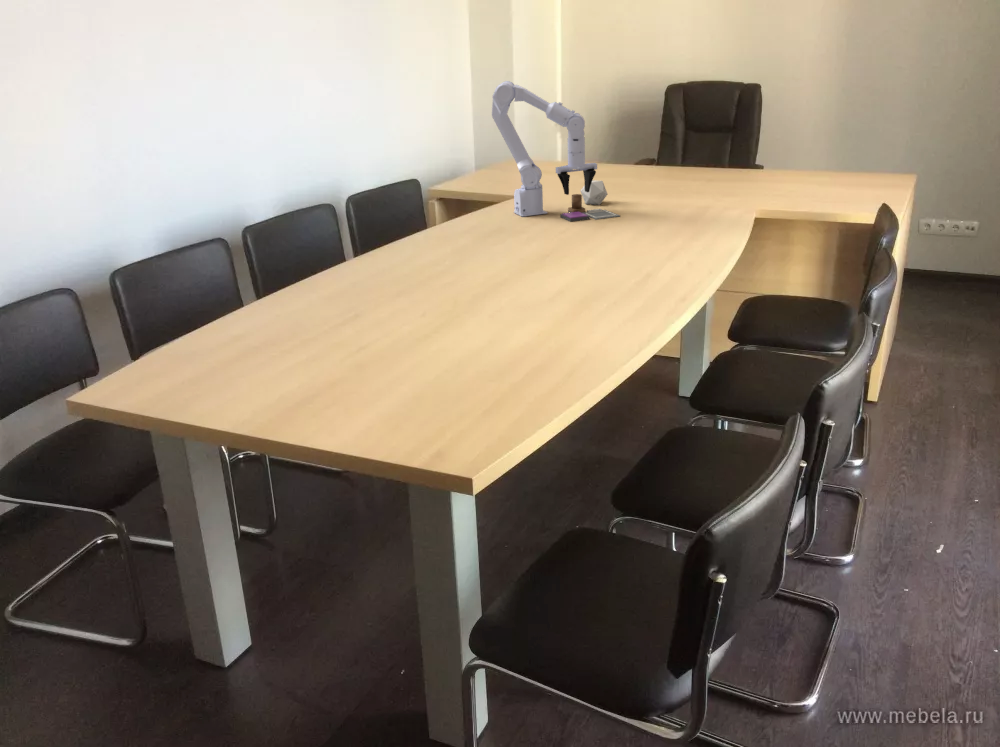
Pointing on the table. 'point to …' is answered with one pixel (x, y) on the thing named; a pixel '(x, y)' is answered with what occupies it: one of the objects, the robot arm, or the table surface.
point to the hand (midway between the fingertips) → (576, 192)
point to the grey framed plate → (600, 214)
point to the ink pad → (574, 216)
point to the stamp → (576, 204)
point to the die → (594, 193)
